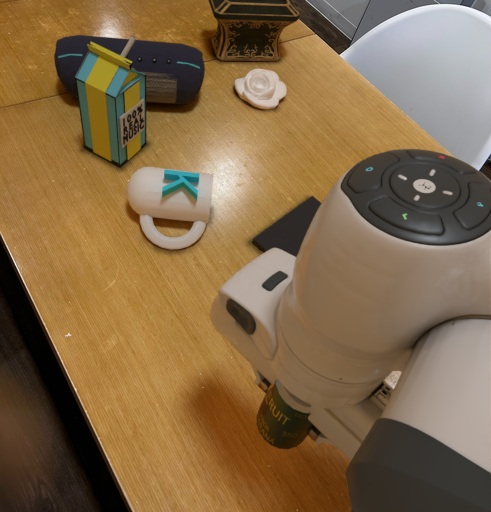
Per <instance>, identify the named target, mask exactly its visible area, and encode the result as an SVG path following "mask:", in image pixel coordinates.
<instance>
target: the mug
mask: <svg viewBox="0 0 491 512" xmlns="http://www.w3.org/2000/svg"><path fill="white" fill-rule="evenodd" d="M213 185H214V174H213V173H208V172H207V173H206V172H199V171H198V172H197V171H191V170H182V169H174V168H164V167H157V166H143V167H141V168H138V169H137V170H135V171H134V173H132V175H131V176H130V178H129V180H128V182H127V187H126V198H127V201H128V204H129V206H130V207H131V209H132V210H133V211H134V212H135V213H136V214H137V215H139V224H140V226H141V231H142V232H143V234H144V235H145V237H146V238H147V239H148V240H149V241H150V242H151V243H152V244H153V245H156V246H157V247H158V248H159V247H160V249H161V248H162V249H166V250H181V249H185V248H188V247H190V246H192V245H193V244H195V243H196V242H198V240H200V238H202V236H203V233H204V232H205V230H206V227H207V224H208V223H209V220H210V212H211V203H212V195H213ZM154 218H155V219H163V220H164V219H165V220H174V221H184V222H193V223H192V226H191V228H190V229H189V231H187V232H186V233H185V234H183V235H180V236H174V237H173V236H172V237H171V236H167V235H165V234H163V233H161V232H160V231H159V230H158V228H157V227H156V226H155V224H154Z"/></svg>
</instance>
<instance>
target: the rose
mask: <svg viewBox="0 0 491 512" xmlns="http://www.w3.org/2000/svg"><path fill="white" fill-rule="evenodd" d="M233 83H234V84H233V85H234V89H235V91H236V93H237V95H238V97H239V98H240V99H241V100H243V101H244V102H247V103H248V104H250V105H251V106H252V107H255V108H257V109H260V110H273V109H276V107H277V106H278V105H279V102H280V101H281V100H282V99H283V98H285V96H287V92H288V91H287V86H286V84H285V82H284V81H282V80H280V77H279V75H278V73H277V72H276V71H274V70H270V69H264V68H254V69H252V70H250V71H248V73H246V75H245V76H244V77H239V78H236V79H234V82H233Z"/></svg>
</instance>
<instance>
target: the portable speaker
mask: <svg viewBox="0 0 491 512" xmlns="http://www.w3.org/2000/svg"><path fill="white" fill-rule="evenodd" d="M129 39H130V38H120V37H110V36H109V37H107V36H96V35H86V34H85V35H84V34H75V35H68V36H63V37H60V38H59V39H56V43H55V49H54V53H53V59H54V66H55V70H56V74H57V78H58V79H59V81H60V83H61V85H62V86H63V88H64V90H65V92H66V93H68V94H69V95H71V96H73V97H74V98H78V96H77V88H76V81H75V76H76V74H77V72H78V70H79V68H80V67H81V65H82V63H83V61H84V59H85V57H86V55H87V53H88V51H89V48H88V46H87V44H90V42H93V43H95V44H98V45H100V46H102V47H104V48H106V49H108V50H110V51H112V52H114V53H116V54H118V55H121V53H122V51H123V50H124V48H125V46H126V45H127V43H128V41H129ZM203 56H204V53H203V51H201V50H200V49H198V48H196V47H194V46H191V45H187V44H185V43H179V42H168V41H157V40H143V39H136V40H135V42H134V44H133V45H132V47H131V49H130V50H129V52H128V54H127V55H126V57H125V58H126V59H128V60H130V61H132V68H133V69H135V70H137V71H139V72H141V73H143V74H145V75H146V103H160V104H176V105H186V104H189V103H190V102H193V101H195V100H196V97H197V95H198V94H199V93H200V91H201V90H202V86H203V83H204V80H205V73H206V72H205V71H206V68H205V66H206V65H205V61H204V59H203V58H204V57H203Z"/></svg>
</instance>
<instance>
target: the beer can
mask: <svg viewBox="0 0 491 512" xmlns="http://www.w3.org/2000/svg"><path fill="white" fill-rule="evenodd" d="M309 407H311V405H310V404H308V403H306V402H304V401H302V400H300V399H299V398H297V397H296V396H294V395H293V394H292V393H290V392H289V391H288V390H287V389H286V388H285V387H284V386H283V385H282V383H281V382H280V381H279V380H278V379H276V380H275V382H274V384H273V385H272V384H271V383H270V386H269V388H268V390H267V392H266V393H265V394H264V397H263V399H262V402H261V403H260V405H259V408H258V409H257V412H256V427H257V429H258V430H257V431H258V433H259V434H260V436H261V438H262V439H263V440H264V442H266V443H267V444H269V446H271V447H274V448H276V449H279V450H291V449H294V448H297V447H298V446H300V445H301V444H302V443H303V442H304V441H305V440H306V439H307V437H309V436H308V435H307V433H308V432H309V431H310V429H311V428H312V427H313V426H314V425H313V424H312V423H311V422H310V421H309V420H308V417H309V416H310V414H311V411H310V408H309Z"/></svg>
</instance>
